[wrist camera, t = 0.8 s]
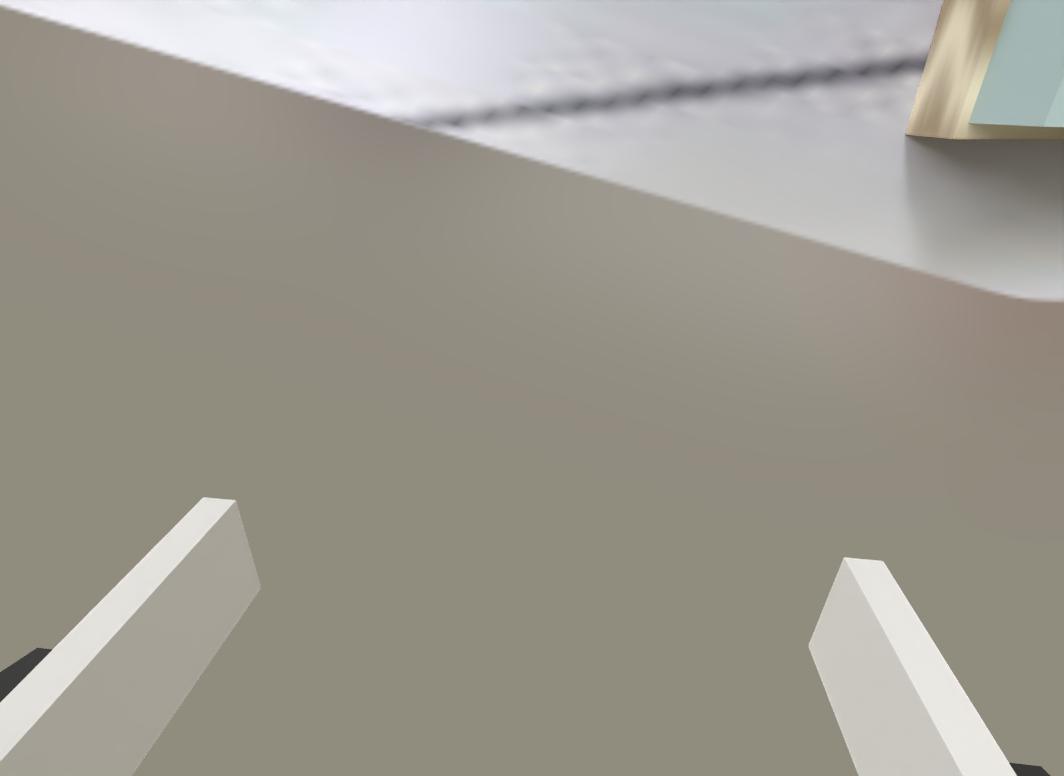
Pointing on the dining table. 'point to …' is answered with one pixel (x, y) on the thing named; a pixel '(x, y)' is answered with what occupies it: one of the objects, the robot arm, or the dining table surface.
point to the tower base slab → (964, 76)
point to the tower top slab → (1025, 68)
